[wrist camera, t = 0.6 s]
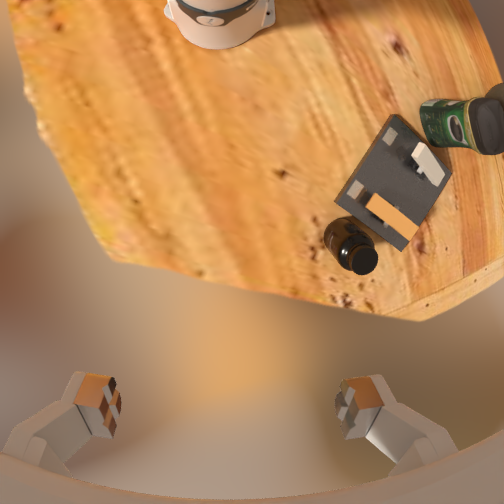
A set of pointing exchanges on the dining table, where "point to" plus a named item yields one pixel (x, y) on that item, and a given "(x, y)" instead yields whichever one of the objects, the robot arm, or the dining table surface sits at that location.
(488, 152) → the coffee jar
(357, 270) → the supplement bottle
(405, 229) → the paddle
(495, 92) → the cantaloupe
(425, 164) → the paddle
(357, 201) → the panel
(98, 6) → the dining table surface
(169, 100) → the dining table surface
